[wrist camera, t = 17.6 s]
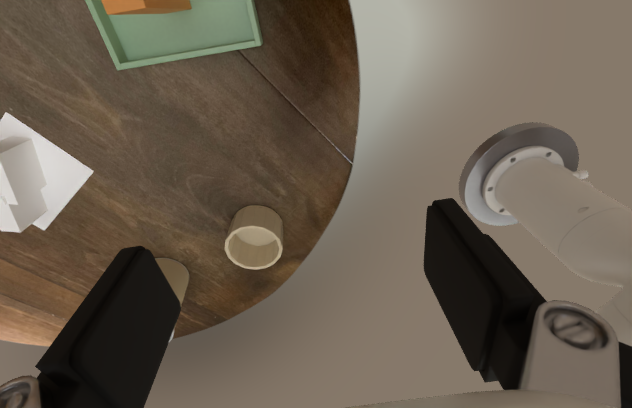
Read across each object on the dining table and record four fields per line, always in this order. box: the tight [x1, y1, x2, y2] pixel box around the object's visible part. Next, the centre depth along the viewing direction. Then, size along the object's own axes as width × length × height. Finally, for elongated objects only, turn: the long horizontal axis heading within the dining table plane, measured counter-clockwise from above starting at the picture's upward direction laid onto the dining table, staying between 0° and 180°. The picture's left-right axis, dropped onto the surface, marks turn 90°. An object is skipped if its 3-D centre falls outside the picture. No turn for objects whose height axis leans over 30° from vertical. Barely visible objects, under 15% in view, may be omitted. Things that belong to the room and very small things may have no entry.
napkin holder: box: [0, 112, 94, 233], centre depth 40 cm, size 15×11×6 cm
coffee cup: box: [155, 258, 189, 342], centre depth 48 cm, size 9×9×12 cm
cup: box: [225, 205, 283, 270], centre depth 47 cm, size 8×8×6 cm
